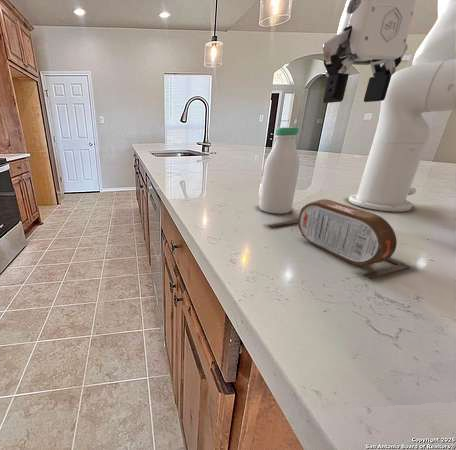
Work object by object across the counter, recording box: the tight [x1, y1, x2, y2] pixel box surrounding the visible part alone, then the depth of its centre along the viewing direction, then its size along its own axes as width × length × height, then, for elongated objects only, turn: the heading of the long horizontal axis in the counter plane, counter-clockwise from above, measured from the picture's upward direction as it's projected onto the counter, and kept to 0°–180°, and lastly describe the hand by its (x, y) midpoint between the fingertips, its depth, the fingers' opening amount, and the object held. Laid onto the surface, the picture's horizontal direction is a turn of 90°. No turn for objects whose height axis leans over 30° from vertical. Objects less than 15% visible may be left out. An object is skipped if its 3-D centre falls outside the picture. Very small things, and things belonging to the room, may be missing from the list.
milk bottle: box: [258, 126, 300, 214], centre depth 60 cm, size 8×8×20 cm
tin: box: [297, 198, 398, 267], centre depth 41 cm, size 15×3×8 cm, turn 17°
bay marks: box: [268, 219, 412, 280], centre depth 46 cm, size 8×21×1 cm, turn 17°
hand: (353, 101), depth 43 cm, fingers open, 9 cm apart
